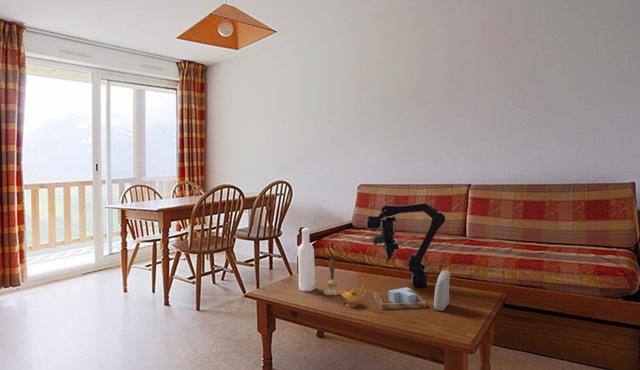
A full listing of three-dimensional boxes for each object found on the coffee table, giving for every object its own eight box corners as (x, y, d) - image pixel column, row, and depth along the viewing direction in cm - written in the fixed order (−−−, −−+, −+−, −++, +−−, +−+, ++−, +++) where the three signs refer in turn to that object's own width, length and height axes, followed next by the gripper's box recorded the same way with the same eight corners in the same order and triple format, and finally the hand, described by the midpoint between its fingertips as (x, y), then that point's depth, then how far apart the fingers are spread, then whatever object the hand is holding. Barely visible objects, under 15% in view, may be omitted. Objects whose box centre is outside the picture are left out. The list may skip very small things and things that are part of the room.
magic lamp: (337, 297, 175) (336, 273, 174) (370, 305, 163) (370, 280, 163) (327, 301, 169) (327, 277, 169) (361, 310, 158) (361, 284, 158)
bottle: (314, 286, 192) (313, 227, 191) (315, 291, 185) (313, 229, 184) (299, 287, 192) (297, 227, 191) (298, 291, 184) (297, 230, 183)
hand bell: (343, 291, 184) (342, 258, 183) (337, 296, 176) (336, 262, 176) (327, 289, 187) (327, 257, 187) (320, 294, 180) (320, 260, 179)
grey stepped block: (406, 296, 174) (406, 287, 174) (421, 303, 165) (421, 293, 165) (388, 300, 170) (388, 290, 170) (402, 307, 161) (402, 296, 161)
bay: (414, 294, 176) (414, 290, 176) (426, 307, 160) (426, 302, 160) (373, 296, 175) (373, 292, 175) (381, 309, 159) (381, 304, 159)
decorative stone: (446, 312, 154) (445, 275, 153) (431, 310, 157) (430, 274, 156) (451, 304, 163) (450, 269, 163) (436, 302, 166) (436, 267, 166)
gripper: (369, 227, 203) (369, 256, 204) (375, 233, 185) (376, 265, 185) (389, 226, 204) (390, 255, 204) (398, 232, 185) (399, 264, 186)
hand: (388, 260), depth 195 cm, fingers closed
